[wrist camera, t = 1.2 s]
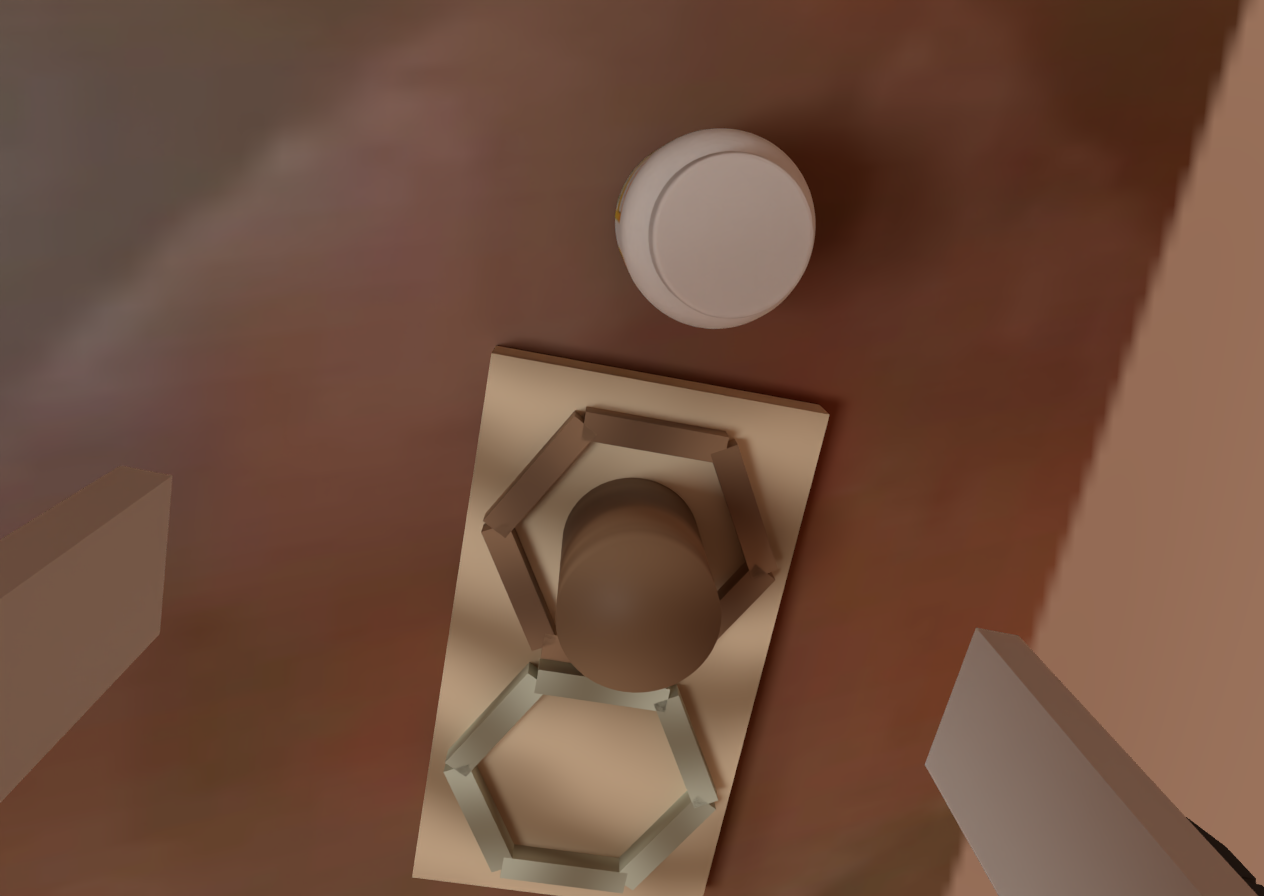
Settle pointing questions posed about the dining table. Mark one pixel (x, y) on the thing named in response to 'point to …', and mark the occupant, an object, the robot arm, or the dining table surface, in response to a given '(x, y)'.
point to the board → (541, 672)
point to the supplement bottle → (716, 227)
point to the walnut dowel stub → (635, 588)
